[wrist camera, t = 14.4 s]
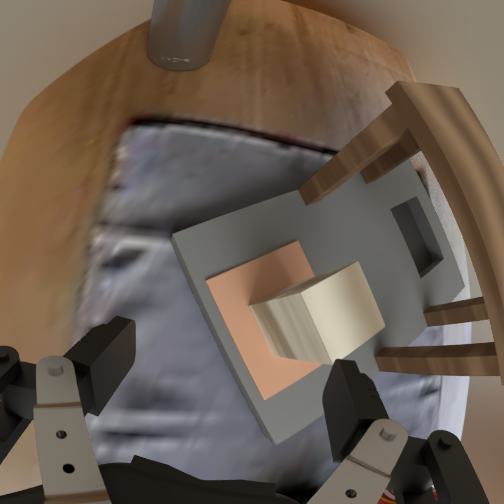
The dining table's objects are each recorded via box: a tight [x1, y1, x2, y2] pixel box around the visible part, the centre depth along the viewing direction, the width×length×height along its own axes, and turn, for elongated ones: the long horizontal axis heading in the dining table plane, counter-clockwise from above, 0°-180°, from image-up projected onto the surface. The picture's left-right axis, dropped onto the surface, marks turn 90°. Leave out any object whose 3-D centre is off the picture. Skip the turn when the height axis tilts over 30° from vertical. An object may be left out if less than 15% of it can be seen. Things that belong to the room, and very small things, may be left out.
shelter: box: [298, 81, 504, 385], centre depth 26 cm, size 12×24×17 cm, turn 25°
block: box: [248, 261, 385, 365], centre depth 23 cm, size 5×5×10 cm
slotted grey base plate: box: [171, 159, 465, 445], centre depth 34 cm, size 36×22×3 cm, turn 115°
